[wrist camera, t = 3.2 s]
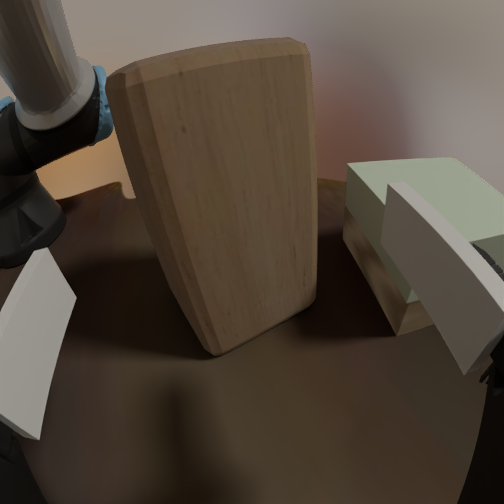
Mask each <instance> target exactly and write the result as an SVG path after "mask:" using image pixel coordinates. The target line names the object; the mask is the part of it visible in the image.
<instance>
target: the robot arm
mask: <svg viewBox="0 0 504 504" xmlns="http://www.w3.org/2000/svg"><path fill="white" fill-rule="evenodd" d="M0 75H1V77H2V78H3V79H4V81H5V82H6V84H7V85H8V86H9V88H10V89H11V91H12V92H13V93H14V95H15V96H16V102H14V100H13V99H12V97H10V96H9V97H6V98H3V99H1V100H0V266H1V267H3V268H10V267H14V266H17V265H19V264H22V263H24V262H26V261H27V260H28V262H27V263H26V265H25V267H24V269H23V270H22V272H21V274H20V276H19V277H18V279H17V281H16V283H15V285H14V286H13V288H12V290H11V292H10V294H9V296H8V298H7V300H6V302H5V304H4V306H3V308H2V310H1V312H0V504H47V502H46V500H45V499H44V497H43V495H42V493H41V491H40V489H39V487H38V485H37V483H36V481H35V479H34V477H33V475H32V473H31V471H30V468H29V466H28V464H27V462H26V459H25V457H24V455H23V452H22V450H21V447H20V445H19V442H18V441H17V439H16V438H15V437H14V436H12V432H13V430H14V431H16V432H17V433H19V434H20V435H22V436H23V437H26V438H31V439H36V440H40V433H41V428H42V422H43V417H44V412H45V407H46V402H47V397H48V393H49V389H50V384H51V380H52V376H53V372H54V368H55V365H56V361H57V357H58V354H59V350H60V347H61V344H62V340H63V337H64V334H65V331H66V328H67V324H68V321H69V318H70V315H71V313H72V310H73V307H74V304H75V301H76V298H77V297H76V296H75V294H74V292H73V291H72V289H71V288H70V286H69V284H68V283H67V281H66V279H65V278H64V276H63V274H62V273H61V271H60V269H59V268H58V266H57V264H56V262H55V261H54V259H53V257H52V255H51V253H50V252H49V250H48V248H46V247H47V246H48V245H50V244H51V243H52V242H53V241H54V240H55V239H56V238H57V236H58V235H59V234H60V233H61V231H62V230H63V228H64V226H65V224H66V216H65V214H64V212H63V209H62V207H61V206H60V205H59V204H58V203H57V202H56V201H55V200H54V198H52V196H51V195H50V193H48V191H47V190H46V189H45V188H44V187H43V185H42V184H41V183H40V181H39V178H38V176H37V173H36V170H37V169H39V168H41V167H42V166H45V165H47V164H49V163H51V162H53V161H55V160H57V159H60V158H62V157H64V156H66V155H69V154H71V153H73V152H75V151H78V150H80V149H82V148H85V147H87V146H93V145H95V144H96V143H97V142H99V141H102V140H104V139H106V138H108V137H109V136H110V135H111V133H112V131H113V125H114V124H113V120H112V116H111V112H110V109H109V105H108V101H107V97H106V93H105V84H106V78H107V77H106V73H105V70H104V68H103V67H102V66H91V65H90V63H89V62H88V61H87V60H85V59H83V58H81V57H78V56H76V53H75V49H74V46H73V43H72V40H71V36H70V33H69V30H68V26H67V22H66V19H65V15H64V11H63V8H62V4H61V0H0ZM380 244H381V245H382V246H383V248H384V249H385V250H386V252H387V253H388V255H389V256H390V257H391V259H392V260H393V262H394V263H395V264H396V266H397V267H398V269H399V270H400V272H401V273H402V274H403V276H404V277H405V279H406V280H407V282H408V283H409V285H410V286H411V288H412V289H413V291H414V292H415V294H416V295H417V297H418V298H419V300H420V301H421V303H422V305H423V306H424V308H425V309H426V311H427V312H428V314H429V316H430V317H431V319H432V320H433V322H434V324H435V325H436V327H437V329H438V330H439V332H440V334H441V335H442V337H443V339H444V340H445V342H446V344H447V346H448V347H449V349H450V351H451V353H452V354H453V356H454V358H455V360H456V362H457V363H458V365H459V367H460V369H461V371H462V373H463V375H466V374H468V373H470V372H472V371H474V370H476V369H477V368H479V367H481V366H482V365H483V364H484V362H485V361H486V360H487V358H488V357H489V356H491V358H492V359H493V362H492V364H491V365H490V366H489V367H488V369H487V370H486V371H485V372H484V374H483V375H482V376H481V378H480V381H479V382H481V383H482V382H483V381H484V380H485V379H486V377H487V376H488V375H489V379H488V380H487V382H486V384H488V386H487V393H486V399H485V405H484V411H483V416H482V421H481V426H480V430H479V435H478V439H477V443H476V447H475V451H474V454H473V458H472V461H471V465H470V468H469V471H468V474H467V477H466V480H465V483H464V486H463V489H462V492H461V495H460V497H459V500H458V503H457V504H504V273H503V270H502V269H501V268H500V267H499V265H498V264H497V265H496V262H495V261H494V260H493V259H492V258H491V257H490V255H489V254H488V253H487V252H486V251H484V250H483V249H481V248H480V247H478V246H477V245H475V244H470V243H469V242H468V241H467V240H466V239H465V238H464V237H463V236H462V235H461V234H460V233H459V232H458V231H457V230H456V229H455V228H454V227H453V226H452V225H451V224H450V223H449V222H448V221H447V220H446V219H445V218H444V217H443V216H442V215H441V214H440V213H439V212H438V211H437V210H436V209H435V208H434V207H433V206H431V205H430V204H429V203H428V202H427V201H426V200H425V199H424V198H423V197H422V196H420V195H419V194H418V193H417V192H416V191H415V190H414V189H413V188H411V187H410V186H409V185H408V184H407V183H406V182H404V181H402V182H393V183H387V193H386V202H385V211H384V219H383V227H382V234H381V241H380Z"/></svg>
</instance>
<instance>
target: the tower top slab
mask: <svg viewBox="0 0 504 504" xmlns="http://www.w3.org/2000/svg"><path fill="white" fill-rule="evenodd" d="M402 181H404V182H406V183H407V184H408V185H409V186H410V187H411V188H413V189H414V190H415V191H416V192H417V193H418V194H419V195H420V196H422V197H423V198H424V199H425V200H426V201H427V202H428V203H429V204H430V205H431V206H433V207H434V208H435V209H436V210H437V211H438V212H439V213H440V214H441V215H442V216H443V217H444V218H445V219H446V220H447V221H448V222H449V223H450V224H451V225H452V226H453V227H454V228H455V229H456V230H457V231H458V232H459V233H460V234H461V235H462V236H463V237H464V238H465V239H466V240H467V241H468V242H469V243H470V244H475V245H477V246H478V247H480V248H481V249H483V250H484V251H486V252H487V253H488V254H489V255H490V257H491V258H492V259H493V260H494V261H495V262H496V265H497V264H498V265H499V267H500V268H501V269H502V270H503V273H504V196H503V195H502V194H501V193H500V192H498V191H497V190H496V189H495V188H494V187H492V186H491V185H490V184H489V183H487V182H486V181H484V180H483V179H482V178H481V177H480V176H478V175H477V174H475V173H474V172H473V171H471V170H470V169H469V168H467V167H466V166H465V165H463V164H462V163H460V162H459V161H458V160H456V159H455V158H422V159H402V160H385V161H371V162H359V163H348V164H347V181H346V207H347V209H348V210H349V212H350V213H351V215H352V216H353V217H354V219H355V220H356V222H357V223H358V225H359V226H360V228H361V229H362V231H363V232H364V234H365V235H366V237H367V239H368V240H369V242H370V243H371V245H372V246H373V248H374V249H375V251H376V253H377V254H378V256H379V257H380V259H381V261H382V262H383V264H384V266H385V267H386V269H387V270H388V272H389V274H390V275H391V277H392V279H393V280H394V282H395V284H396V286H397V287H398V289H399V291H400V292H401V294H402V296H403V298H404V299H405V301H406V303H410V302H414V301H417V300H419V298H418V297H417V295H416V294H415V292H414V291H413V289H412V288H411V286H410V285H409V283H408V282H407V280H406V279H405V277H404V276H403V274H402V273H401V272H400V270H399V269H398V267H397V266H396V264H395V263H394V262H393V260H392V259H391V257H390V256H389V255H388V253H387V252H386V250H385V249H384V248H383V246H382V245H381V244H380V241H381V234H382V227H383V219H384V211H385V202H386V193H387V183H393V182H402Z"/></svg>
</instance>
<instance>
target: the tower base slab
mask: <svg viewBox="0 0 504 504" xmlns="http://www.w3.org/2000/svg"><path fill="white" fill-rule="evenodd" d="M343 240H344V242H345V244H346V245H347V247H348V249H349V250H350V252H351V254H352V256H353V257H354V259H355V261H356V262H357V264H358V266H359V268H360V269H361V271H362V273H363V275H364V276H365V278H366V280H367V282H368V283H369V285H370V287H371V289H372V291H373V293H374V294H375V296H376V298H377V300H378V302H379V304H380V305H381V307H382V309H383V311H384V313H385V315H386V317H387V319H388V321H389V322H390V324H391V326H392V328H393V330H394V332H395V334H396V336H399V335H402V334H405V333H408V332H412V331H415V330H418V329H421V328H423V327H426V326H429V325H432V324H434V322H433V320H432V319H431V317H430V316H429V314H428V312H427V311H426V309H425V308H424V306H423V305H422V303H421V301H420V300H417V301H414V302H410V303H406V301H405V299H404V298H403V296H402V294H401V292H400V291H399V289H398V287H397V286H396V284H395V282H394V280H393V279H392V277H391V275H390V274H389V272H388V270H387V269H386V267H385V266H384V264H383V262H382V261H381V259H380V257H379V256H378V254H377V253H376V251H375V249H374V248H373V246H372V245H371V243H370V242H369V240H368V239H367V237H366V235H365V234H364V232H363V231H362V229H361V228H360V226H359V225H358V223H357V222H356V220H355V219H354V217H353V216H352V215H351V213H350V212H349V210H348V209H347V207H346V206H345V208H344V227H343Z"/></svg>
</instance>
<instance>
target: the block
mask: <svg viewBox="0 0 504 504" xmlns="http://www.w3.org/2000/svg"><path fill="white" fill-rule="evenodd" d="M312 86H313V85H312V73H311V61H310V53H309V51H308V49H307V46H306V44H304V43H302V42H299V41H297V40H294V39H292V38H289V37H285V38H268V39H255V40H244V41H235V42H228V43H220V44H213V45H207V46H201V47H196V48H190V49H185V50H180V51H175V52H171V53H167V54H162V55H158V56H154V57H150V58H146V59H142V60H139V61H135V62H133V63H131V64H129V65H126V66H124V67H122V68H120V69H118V70H116V71H115V72H114V73H112V74H111V75H110V76H108V77H107V78H106V84H105V93H106V97H107V101H108V105H109V109H110V112H111V116H112V120H113V124H114V127H115V131H116V134H117V138H118V141H119V144H120V148H121V152H122V155H123V158H124V162H125V165H126V168H127V171H128V174H129V177H130V180H131V184H132V187H133V190H134V193H135V196H136V199H137V202H138V205H139V208H140V210H141V213H142V216H143V219H144V222H145V225H146V227H147V230H148V233H149V236H150V238H151V241H152V244H153V246H154V249H155V251H156V254H157V257H158V259H159V262H160V264H161V267H162V269H163V272H164V274H165V277H166V279H167V282H168V284H169V287H170V289H171V290H172V292H173V294H174V296H175V298H176V300H177V302H178V303H179V305H180V307H181V309H182V311H183V312H184V314H185V316H186V318H187V320H188V321H189V323H190V325H191V327H192V328H193V330H194V332H195V334H196V335H197V337H198V339H199V340H200V342H201V344H202V345H203V347H204V349H205V350H207V351H208V352H210V353H211V354H213V355H214V356H219V355H223V354H225V353H227V352H229V351H231V350H233V349H235V348H237V347H239V346H240V345H242V344H244V343H246V342H248V341H250V340H252V339H253V338H255V337H257V336H259V335H261V334H262V333H264V332H266V331H268V330H270V329H271V328H273V327H275V326H277V325H279V324H280V323H282V322H284V321H286V320H287V319H289V318H291V317H292V316H294V315H296V314H298V313H299V312H301V311H303V310H304V309H306V308H308V307H309V306H310V305H311V304H312V303H313V302H314V300H315V298H316V283H317V162H316V136H315V118H314V117H315V116H314V100H313V87H312Z"/></svg>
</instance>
